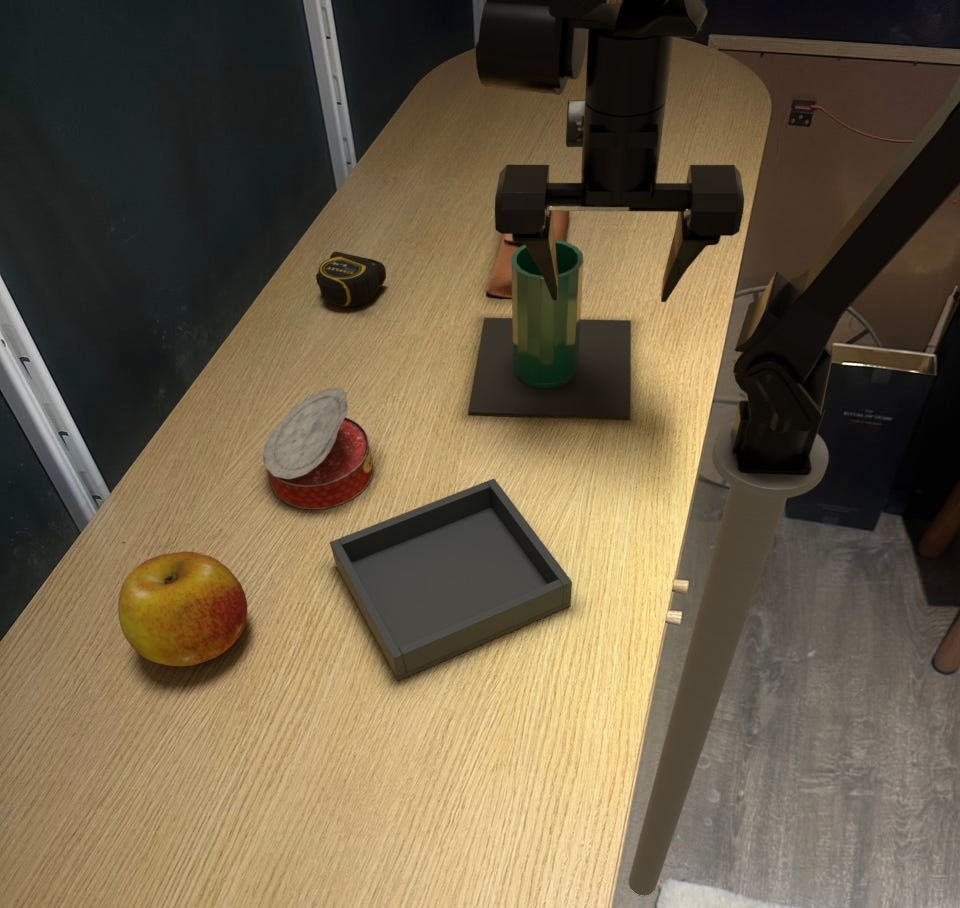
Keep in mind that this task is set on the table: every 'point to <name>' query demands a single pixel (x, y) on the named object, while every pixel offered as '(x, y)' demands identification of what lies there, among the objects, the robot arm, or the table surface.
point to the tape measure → (349, 279)
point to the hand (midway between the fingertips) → (608, 298)
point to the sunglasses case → (501, 269)
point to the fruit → (182, 608)
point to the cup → (546, 318)
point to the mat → (587, 395)
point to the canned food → (318, 453)
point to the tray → (450, 577)
